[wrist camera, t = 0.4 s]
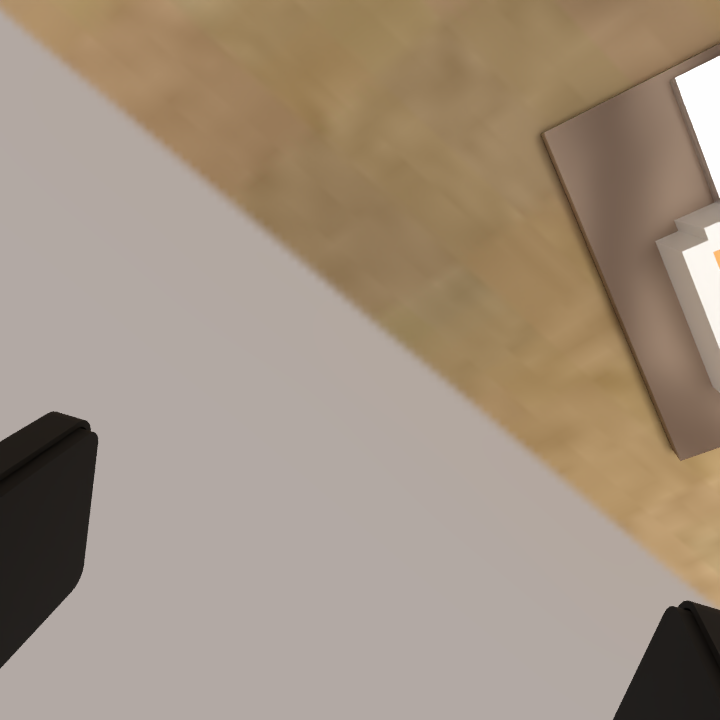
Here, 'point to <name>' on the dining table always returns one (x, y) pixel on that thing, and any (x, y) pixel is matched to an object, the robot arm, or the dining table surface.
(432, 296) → the dining table surface
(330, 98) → the dining table surface
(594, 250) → the rail board
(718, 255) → the plate
